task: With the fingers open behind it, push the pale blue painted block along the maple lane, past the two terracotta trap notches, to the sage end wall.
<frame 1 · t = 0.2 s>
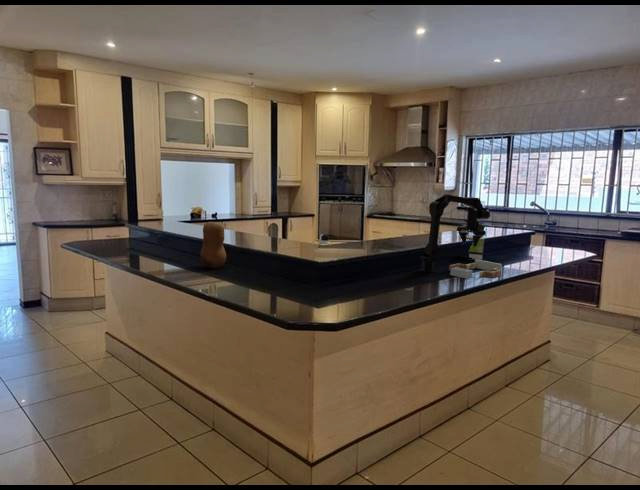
hand: (469, 245, 266), 14 cm above the countertop, fingers open, 9 cm apart
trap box: (468, 274, 255), on the countertop
container: (323, 254, 299), on the countertop
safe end: (483, 270, 266), on the countertop
block: (461, 276, 250), on the countertop
tea box: (470, 258, 306), on the countertop
butternut squash: (213, 268, 246), on the countertop
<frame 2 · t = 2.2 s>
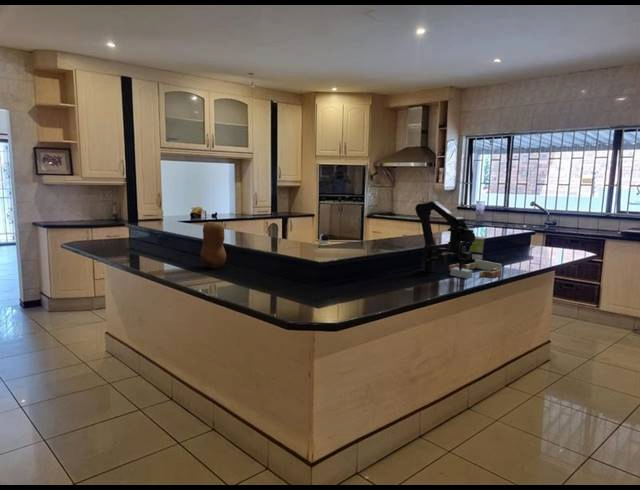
hand: (452, 268, 244), 5 cm above the countertop, fingers open, 9 cm apart
nothing on the countertop moved.
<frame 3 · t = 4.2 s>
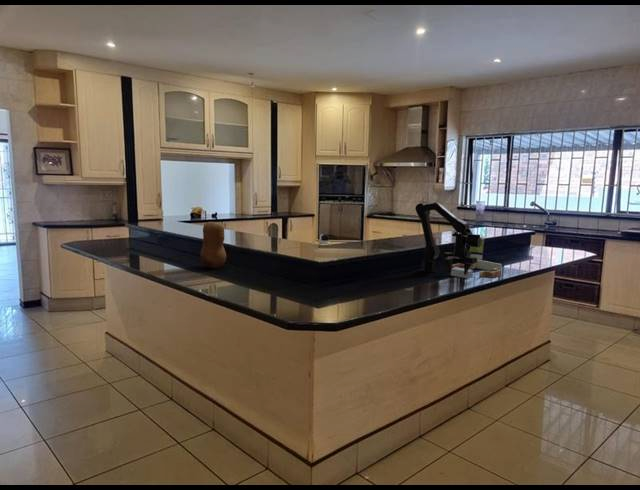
hand: (457, 273, 247), 2 cm above the countertop, fingers open, 9 cm apart
nothing on the countertop moved.
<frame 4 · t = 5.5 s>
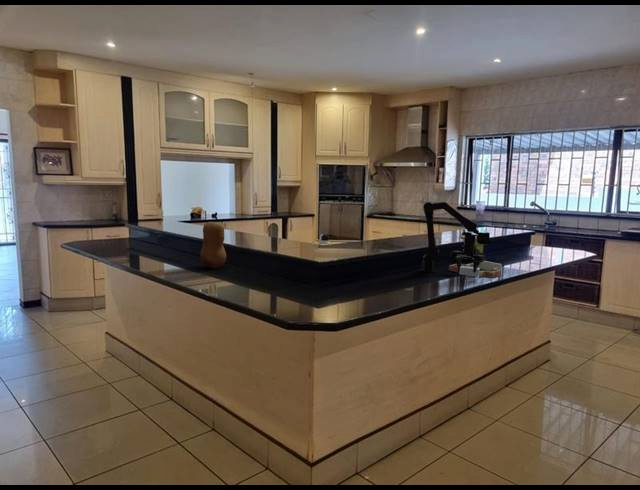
hand: (466, 271, 253), 2 cm above the countertop, fingers open, 9 cm apart
block: (469, 274, 255), on the countertop
everything else where it was.
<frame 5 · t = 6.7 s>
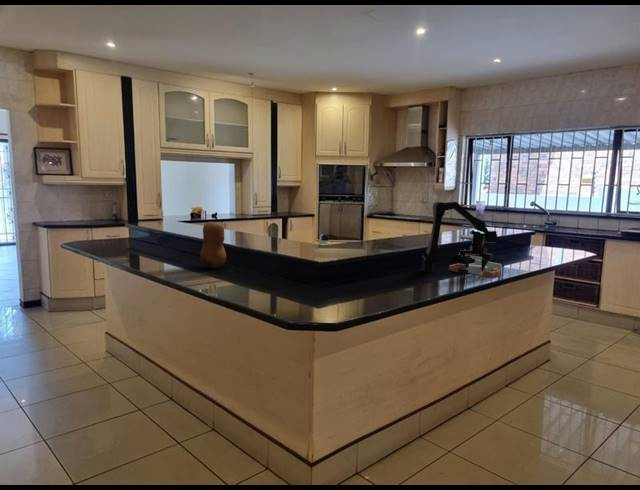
hand: (474, 269, 259), 2 cm above the countertop, fingers open, 9 cm apart
block: (477, 272, 260), on the countertop
everything else where it was.
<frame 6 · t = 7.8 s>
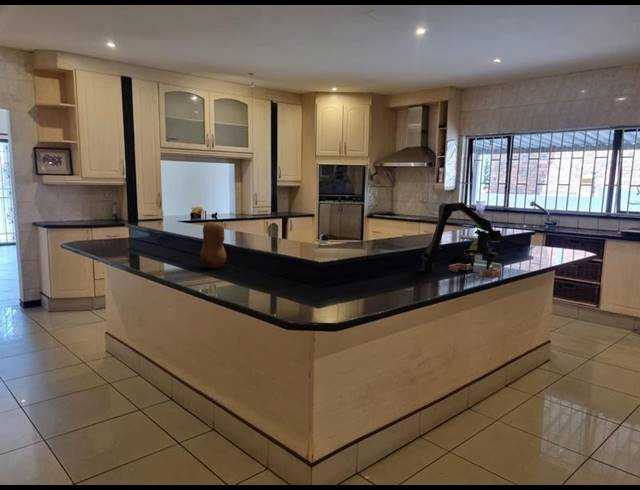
hand: (479, 268, 263), 2 cm above the countertop
block: (482, 271, 264), on the countertop, touching gripper
everything else where it was.
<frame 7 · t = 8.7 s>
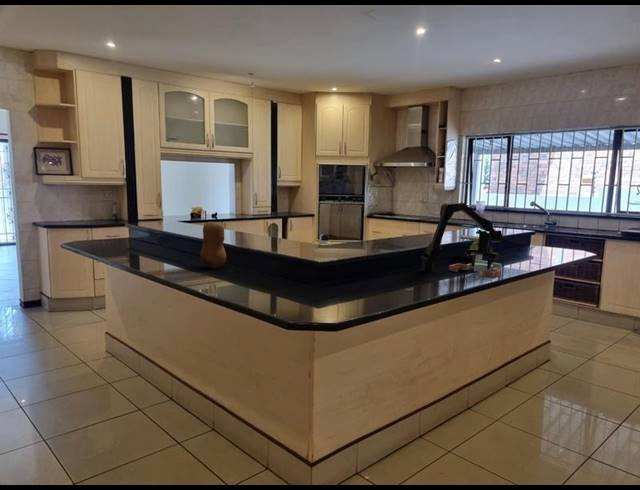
hand: (480, 268, 263), 2 cm above the countertop
block: (483, 271, 265), on the countertop, touching gripper, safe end
everything else where it was.
when the fingers open (2 cm above the countertop, at t = 9.0 s): block stays where it is, on the countertop.
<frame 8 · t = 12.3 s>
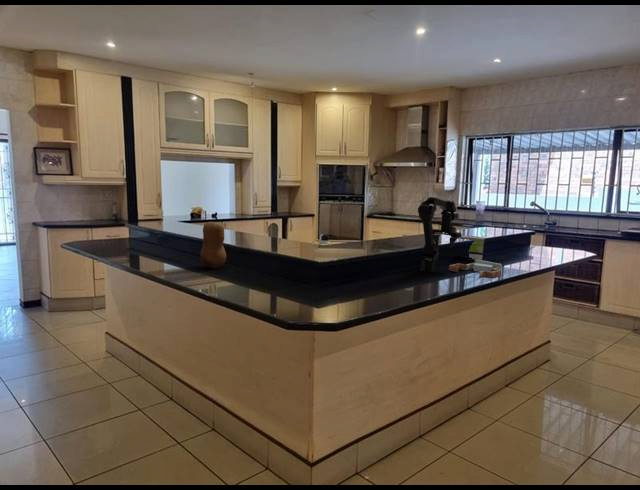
hand: (443, 247, 270), 12 cm above the countertop, fingers open, 9 cm apart
block: (483, 271, 265), on the countertop
everything else where it was.
at the end: block 1.4 cm from the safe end (horizontally); block tilted 0° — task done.
